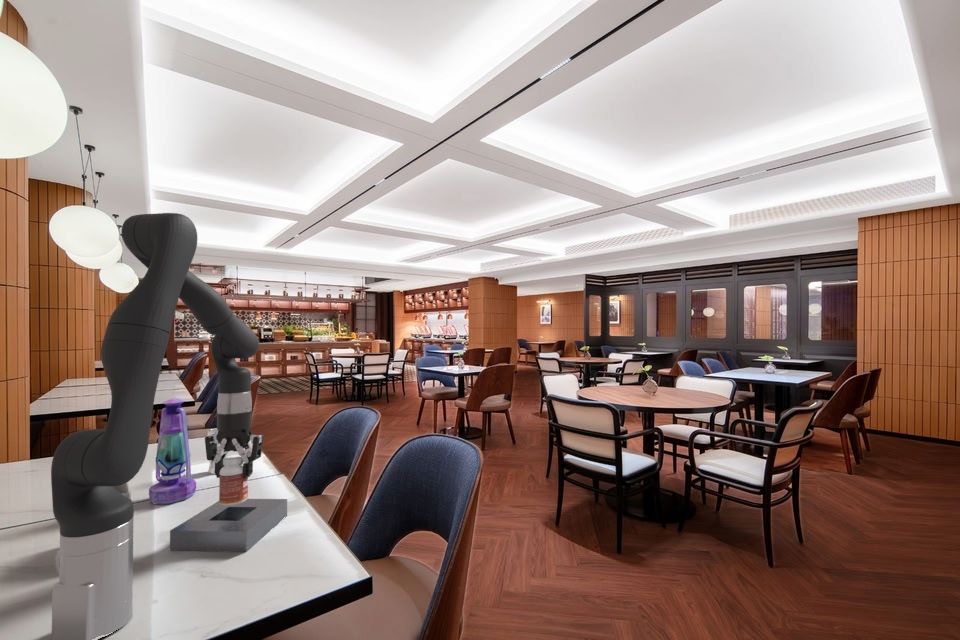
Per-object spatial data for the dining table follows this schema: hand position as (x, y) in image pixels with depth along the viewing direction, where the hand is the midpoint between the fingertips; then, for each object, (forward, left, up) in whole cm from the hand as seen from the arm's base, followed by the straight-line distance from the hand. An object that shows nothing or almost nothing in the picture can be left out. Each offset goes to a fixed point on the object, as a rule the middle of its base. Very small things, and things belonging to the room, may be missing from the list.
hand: (233, 476), depth 103 cm
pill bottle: (0, 0, -6) cm, 6 cm away
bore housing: (0, 0, -14) cm, 14 cm away
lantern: (+20, +32, -14) cm, 40 cm away
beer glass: (+43, +34, -14) cm, 57 cm away
